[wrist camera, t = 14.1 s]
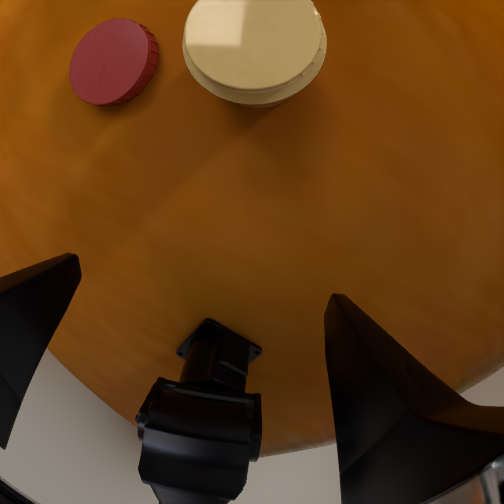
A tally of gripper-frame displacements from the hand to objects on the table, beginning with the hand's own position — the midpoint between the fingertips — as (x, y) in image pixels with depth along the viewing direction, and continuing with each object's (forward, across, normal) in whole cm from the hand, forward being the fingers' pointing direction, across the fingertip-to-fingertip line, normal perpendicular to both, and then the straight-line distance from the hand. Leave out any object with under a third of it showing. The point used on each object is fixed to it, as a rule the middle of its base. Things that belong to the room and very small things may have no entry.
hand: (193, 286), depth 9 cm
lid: (+10, +10, -9) cm, 17 cm away
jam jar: (+12, 0, -9) cm, 15 cm away
